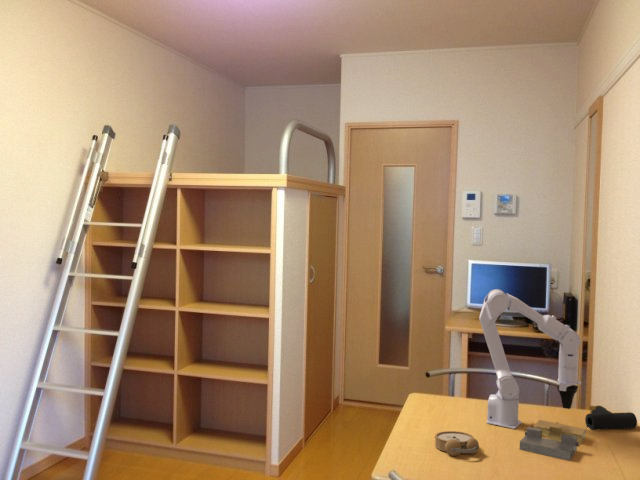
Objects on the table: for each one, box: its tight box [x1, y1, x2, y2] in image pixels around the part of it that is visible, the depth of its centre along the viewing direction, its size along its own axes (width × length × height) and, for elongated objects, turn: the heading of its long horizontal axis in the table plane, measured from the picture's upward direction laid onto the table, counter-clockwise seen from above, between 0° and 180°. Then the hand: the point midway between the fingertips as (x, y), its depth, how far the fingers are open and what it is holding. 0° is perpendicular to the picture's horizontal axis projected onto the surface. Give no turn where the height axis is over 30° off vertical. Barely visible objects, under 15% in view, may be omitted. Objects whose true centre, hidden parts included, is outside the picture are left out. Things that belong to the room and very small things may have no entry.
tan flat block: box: [533, 419, 587, 445], centre depth 191 cm, size 14×9×4 cm, turn 56°
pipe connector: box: [584, 405, 638, 431], centre depth 203 cm, size 12×5×15 cm
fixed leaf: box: [519, 426, 580, 462], centre depth 180 cm, size 15×9×4 cm, turn 56°
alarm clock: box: [434, 430, 480, 457], centre depth 179 cm, size 11×5×15 cm
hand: (566, 407), depth 199 cm, fingers closed
